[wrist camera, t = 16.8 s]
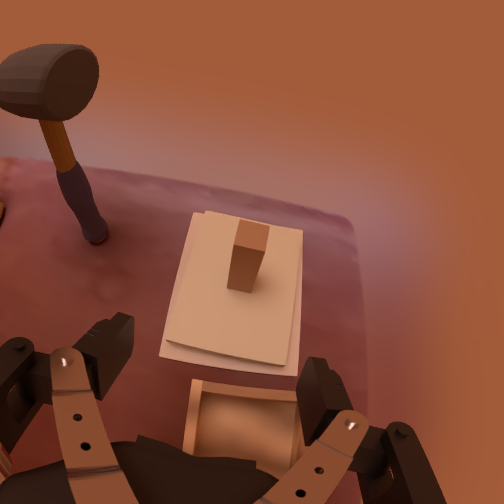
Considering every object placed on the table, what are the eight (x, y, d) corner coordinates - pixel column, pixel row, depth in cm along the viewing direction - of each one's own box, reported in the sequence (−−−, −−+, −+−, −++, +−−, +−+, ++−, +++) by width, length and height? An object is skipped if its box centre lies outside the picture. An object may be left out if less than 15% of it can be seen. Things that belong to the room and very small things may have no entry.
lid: (280, 368, 33) (315, 347, 22) (168, 343, 32) (148, 310, 22) (296, 241, 43) (324, 183, 32) (205, 220, 42) (207, 157, 32)
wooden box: (287, 521, 22) (304, 541, 16) (179, 513, 21) (173, 535, 15) (302, 395, 32) (322, 392, 26) (195, 384, 31) (192, 378, 25)
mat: (296, 376, 33) (297, 376, 33) (159, 356, 32) (158, 356, 31) (301, 232, 44) (302, 230, 44) (193, 213, 43) (193, 212, 43)
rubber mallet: (142, 233, 40) (102, 27, 15) (113, 273, 36) (27, 66, 11) (86, 205, 41) (34, 37, 16) (59, 238, 38) (-21, 71, 12)
